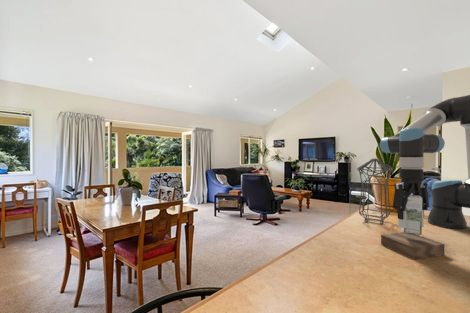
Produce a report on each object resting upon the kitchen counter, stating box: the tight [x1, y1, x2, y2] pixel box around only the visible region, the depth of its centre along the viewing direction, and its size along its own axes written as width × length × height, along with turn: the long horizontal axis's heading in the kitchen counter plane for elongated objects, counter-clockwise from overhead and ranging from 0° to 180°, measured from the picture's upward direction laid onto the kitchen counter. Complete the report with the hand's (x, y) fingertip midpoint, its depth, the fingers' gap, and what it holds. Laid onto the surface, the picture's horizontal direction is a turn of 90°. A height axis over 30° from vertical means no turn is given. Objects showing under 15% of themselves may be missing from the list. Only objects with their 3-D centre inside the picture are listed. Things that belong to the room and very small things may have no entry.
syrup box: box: [399, 194, 423, 236], centre depth 90 cm, size 6×6×14 cm
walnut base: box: [380, 231, 445, 260], centre depth 91 cm, size 14×14×4 cm
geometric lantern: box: [356, 157, 394, 225], centre depth 127 cm, size 16×16×35 cm
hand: (410, 226), depth 90 cm, fingers closed on syrup box, 8 cm apart
